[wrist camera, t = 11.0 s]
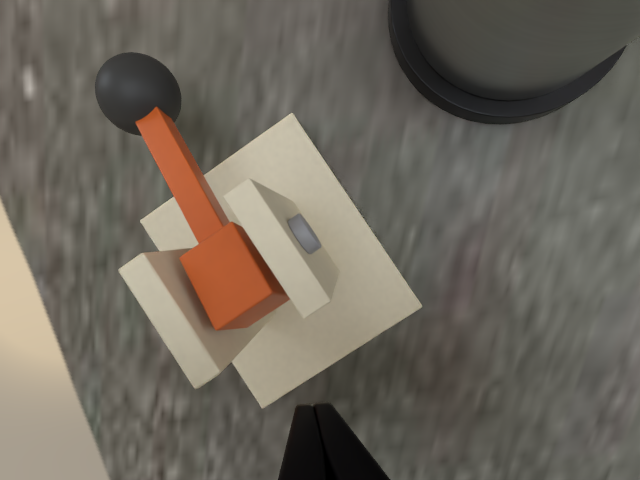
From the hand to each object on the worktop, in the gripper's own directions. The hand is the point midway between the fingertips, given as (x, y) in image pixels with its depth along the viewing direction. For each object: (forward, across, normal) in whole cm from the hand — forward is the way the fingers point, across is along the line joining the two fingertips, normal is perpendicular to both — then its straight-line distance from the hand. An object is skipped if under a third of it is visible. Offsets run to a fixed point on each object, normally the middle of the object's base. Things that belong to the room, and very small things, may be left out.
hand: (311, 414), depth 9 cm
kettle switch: (+9, +3, -3) cm, 10 cm away
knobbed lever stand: (+12, 0, +2) cm, 12 cm away
